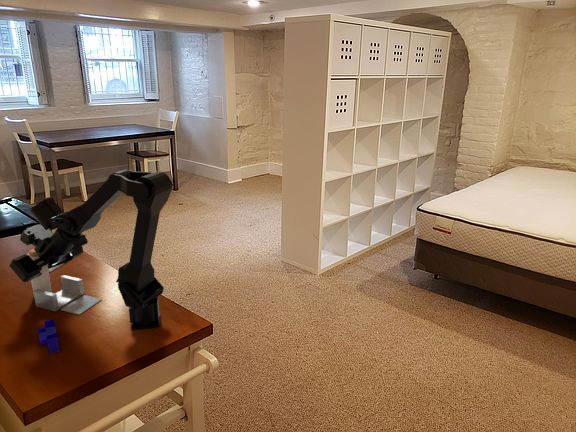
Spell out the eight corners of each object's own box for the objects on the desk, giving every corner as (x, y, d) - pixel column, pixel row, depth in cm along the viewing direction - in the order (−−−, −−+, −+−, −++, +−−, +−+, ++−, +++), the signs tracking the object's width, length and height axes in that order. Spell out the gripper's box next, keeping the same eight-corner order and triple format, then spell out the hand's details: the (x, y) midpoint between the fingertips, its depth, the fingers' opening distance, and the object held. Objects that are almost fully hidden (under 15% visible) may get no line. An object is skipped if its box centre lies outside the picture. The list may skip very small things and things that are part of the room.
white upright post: (54, 290, 121) (46, 247, 117) (49, 298, 117) (42, 253, 113) (37, 292, 120) (29, 247, 116) (31, 300, 116) (23, 254, 112)
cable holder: (39, 337, 101) (36, 323, 100) (56, 333, 103) (53, 319, 102) (41, 356, 95) (39, 341, 93) (59, 351, 96) (57, 336, 95)
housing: (84, 293, 120) (82, 279, 119) (55, 311, 111) (52, 296, 110) (66, 289, 122) (63, 275, 121) (36, 306, 113) (33, 291, 112)
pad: (101, 300, 117) (101, 299, 117) (79, 314, 110) (79, 313, 110) (84, 295, 119) (84, 294, 119) (61, 310, 112) (60, 309, 112)
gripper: (69, 207, 118) (44, 238, 125) (7, 230, 102) (-17, 264, 108) (95, 238, 118) (69, 267, 125) (38, 265, 102) (12, 297, 109)
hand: (35, 273), depth 117 cm, fingers open, 6 cm apart
